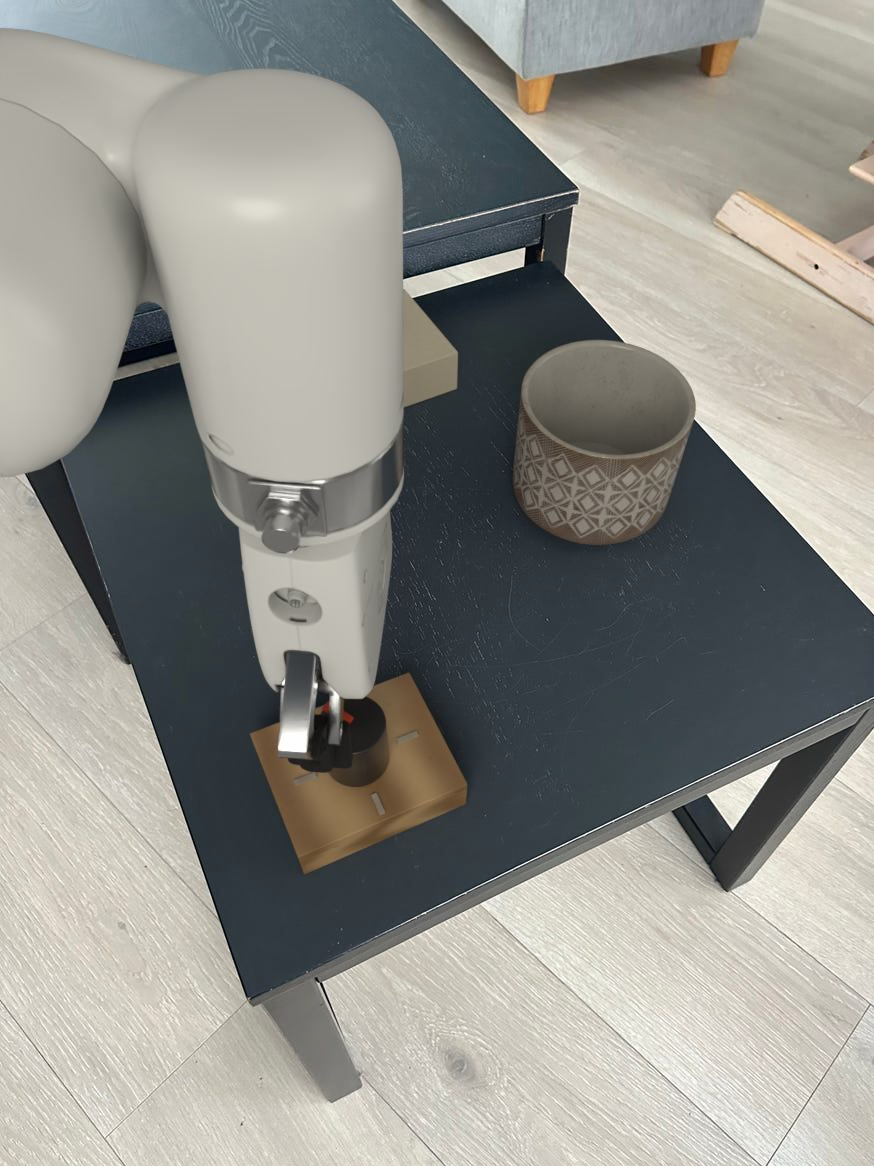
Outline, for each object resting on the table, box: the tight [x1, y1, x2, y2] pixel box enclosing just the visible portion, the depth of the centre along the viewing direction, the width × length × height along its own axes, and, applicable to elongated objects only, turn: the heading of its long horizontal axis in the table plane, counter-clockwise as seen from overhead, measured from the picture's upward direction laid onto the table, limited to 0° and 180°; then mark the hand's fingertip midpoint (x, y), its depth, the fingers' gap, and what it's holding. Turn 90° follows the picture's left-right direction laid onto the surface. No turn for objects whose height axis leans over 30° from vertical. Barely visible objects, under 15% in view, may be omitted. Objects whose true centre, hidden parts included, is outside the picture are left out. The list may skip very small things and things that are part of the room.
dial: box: [320, 697, 389, 787], centre depth 54 cm, size 4×4×5 cm
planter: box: [511, 339, 697, 546], centre depth 70 cm, size 13×13×10 cm
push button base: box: [403, 288, 459, 409], centre depth 78 cm, size 14×10×6 cm
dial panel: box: [249, 672, 468, 875], centre depth 58 cm, size 11×9×3 cm
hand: (335, 680), depth 49 cm, fingers open, 9 cm apart
